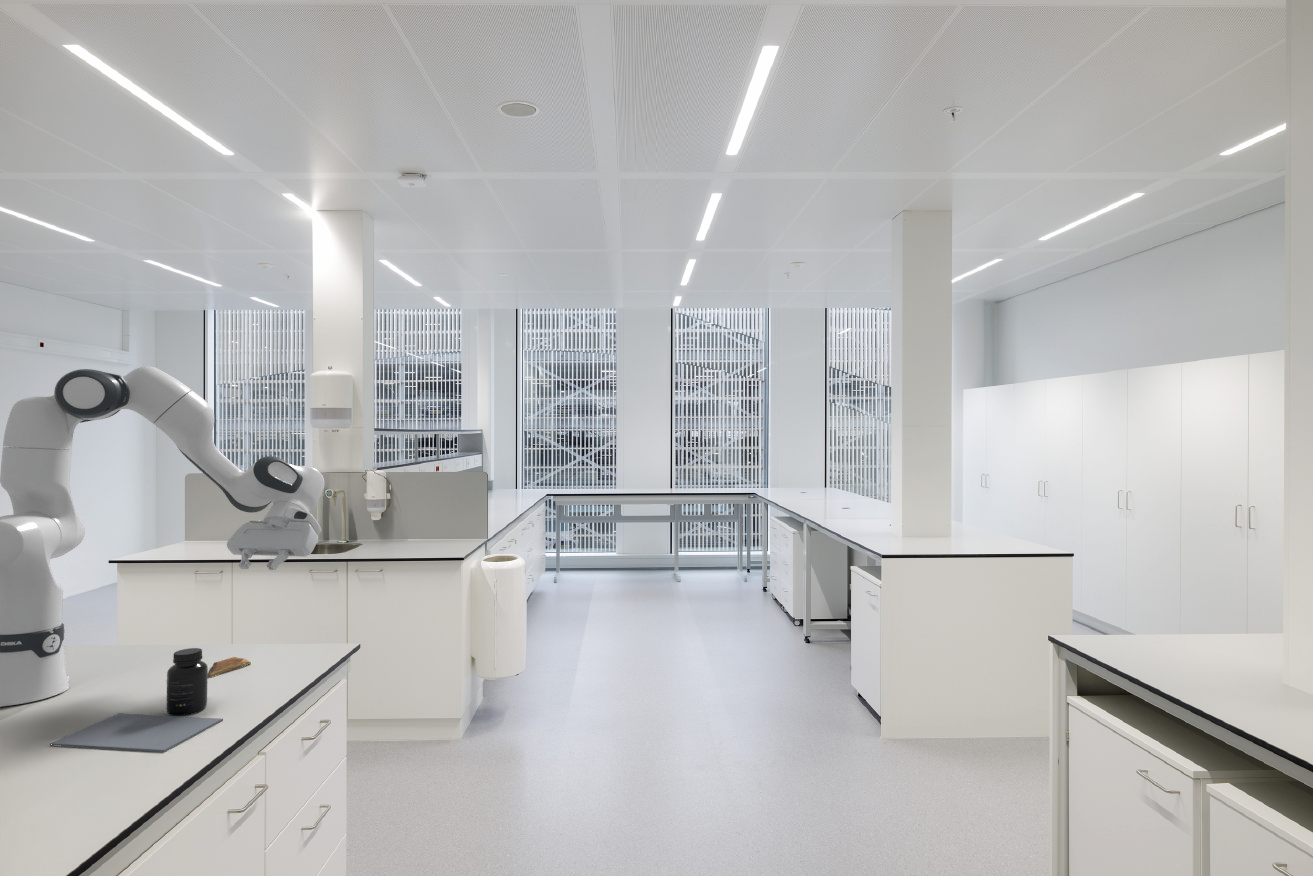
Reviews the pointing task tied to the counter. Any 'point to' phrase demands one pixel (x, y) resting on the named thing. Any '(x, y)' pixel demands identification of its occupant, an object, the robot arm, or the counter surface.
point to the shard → (227, 665)
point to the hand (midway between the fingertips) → (256, 568)
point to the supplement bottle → (187, 683)
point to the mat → (138, 732)
